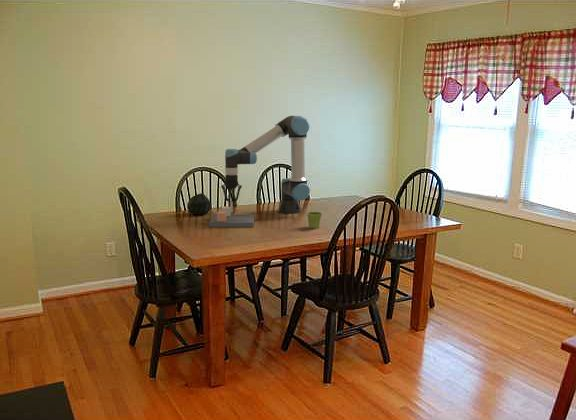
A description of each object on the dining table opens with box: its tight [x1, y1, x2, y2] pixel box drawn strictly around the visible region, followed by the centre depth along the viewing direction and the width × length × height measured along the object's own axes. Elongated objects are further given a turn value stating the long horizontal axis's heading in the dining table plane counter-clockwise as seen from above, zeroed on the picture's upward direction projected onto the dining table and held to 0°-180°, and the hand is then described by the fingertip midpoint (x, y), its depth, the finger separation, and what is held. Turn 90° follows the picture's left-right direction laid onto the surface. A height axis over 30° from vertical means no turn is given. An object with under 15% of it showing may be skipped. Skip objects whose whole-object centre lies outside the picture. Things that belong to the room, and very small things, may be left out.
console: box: [208, 213, 255, 229], centre depth 308 cm, size 26×24×3 cm
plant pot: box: [306, 211, 323, 229], centre depth 300 cm, size 9×9×9 cm
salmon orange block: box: [216, 210, 226, 222], centre depth 299 cm, size 5×6×5 cm
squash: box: [186, 192, 211, 216], centre depth 330 cm, size 14×15×15 cm
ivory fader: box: [221, 206, 232, 216], centre depth 314 cm, size 5×6×5 cm
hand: (231, 211), depth 314 cm, fingers closed
